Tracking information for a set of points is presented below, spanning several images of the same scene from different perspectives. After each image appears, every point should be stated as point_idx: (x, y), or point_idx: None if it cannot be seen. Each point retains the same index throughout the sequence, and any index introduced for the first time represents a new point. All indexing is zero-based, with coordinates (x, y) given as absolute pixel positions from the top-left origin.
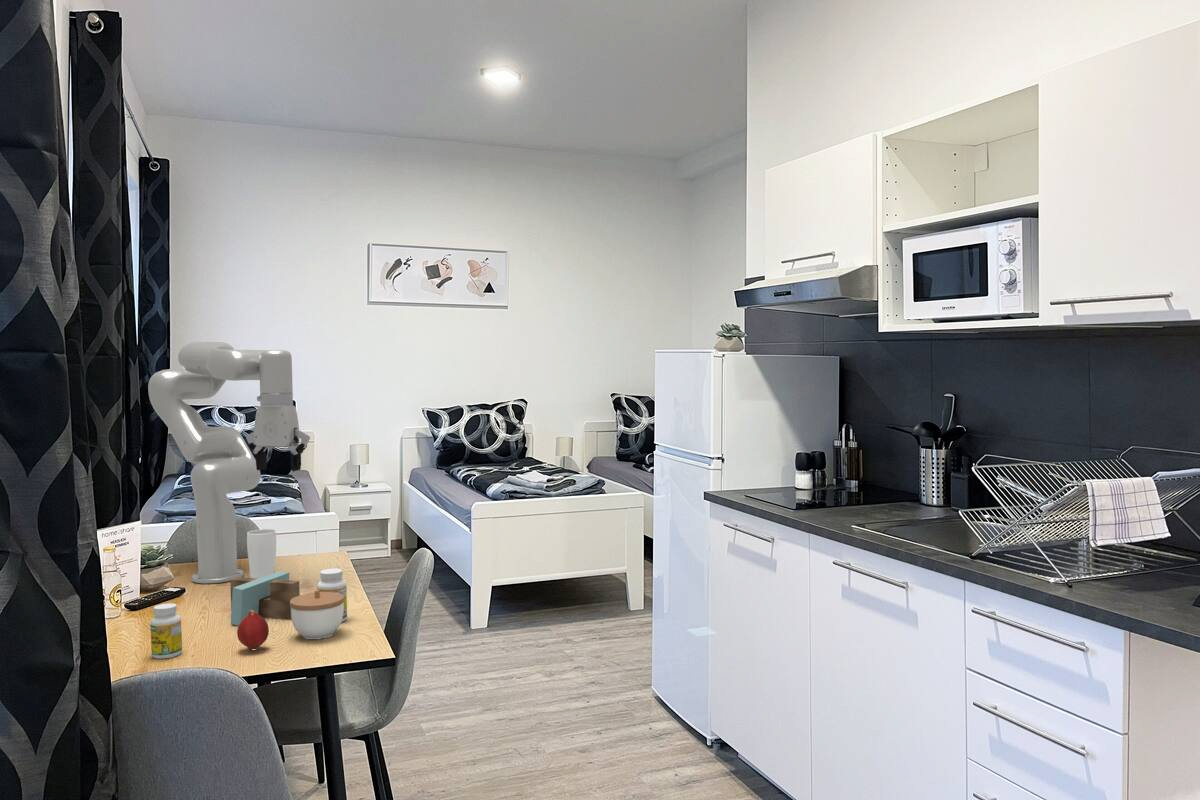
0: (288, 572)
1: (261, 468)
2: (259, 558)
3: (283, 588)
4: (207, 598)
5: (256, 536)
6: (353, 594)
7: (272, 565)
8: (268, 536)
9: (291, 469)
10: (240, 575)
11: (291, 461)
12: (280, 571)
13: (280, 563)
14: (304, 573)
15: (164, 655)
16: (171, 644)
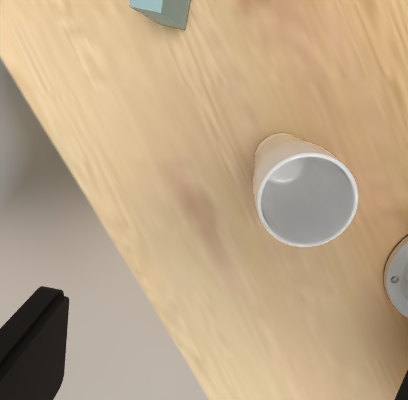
0: (132, 6)
1: (404, 395)
2: (284, 141)
3: None
4: (395, 89)
5: (304, 151)
6: (57, 139)
7: (255, 164)
8: (265, 171)
9: (53, 292)
10: (386, 272)
11: (4, 345)
12: (157, 6)
13: (342, 393)
14: (250, 312)
15: None
16: None
